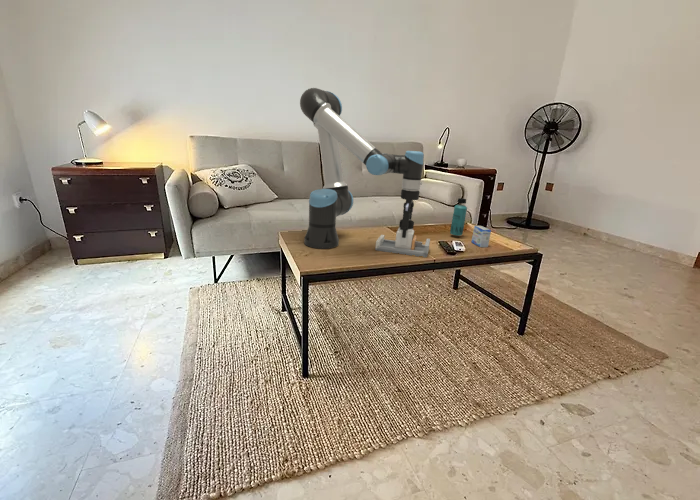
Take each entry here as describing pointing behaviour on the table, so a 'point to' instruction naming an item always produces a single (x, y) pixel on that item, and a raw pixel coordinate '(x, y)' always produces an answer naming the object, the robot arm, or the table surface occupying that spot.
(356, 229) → the table surface
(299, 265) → the table surface
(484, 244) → the medicine box
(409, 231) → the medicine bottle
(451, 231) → the beverage bottle
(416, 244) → the pusher
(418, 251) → the lane
